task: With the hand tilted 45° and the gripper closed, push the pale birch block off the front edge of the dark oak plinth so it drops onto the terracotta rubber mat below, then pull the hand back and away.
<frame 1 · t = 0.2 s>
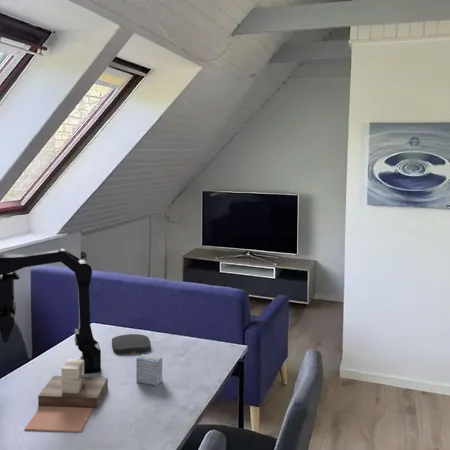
hand: (5, 337, 176), 15 cm above the table, tool pointing down, fingers open, 9 cm apart
oak plinth: (74, 396, 168), on the table
medicine box: (149, 382, 180), on the table
terracotta mat: (60, 419, 154), on the table
media streaming box: (131, 347, 211), on the table
birch block: (73, 387, 166), point 3 cm above the table, touching oak plinth
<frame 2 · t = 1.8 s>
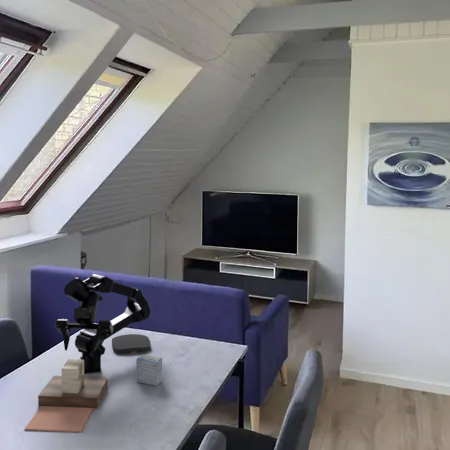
hand: (79, 350, 173), 13 cm above the table, tool tilted 45°, fingers open, 9 cm apart
nothing on the table moved.
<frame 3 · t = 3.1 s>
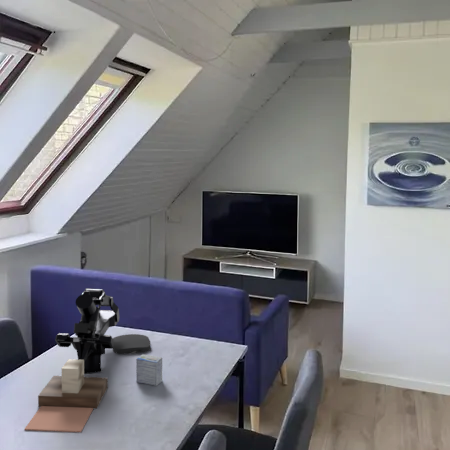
hand: (80, 365, 173), 8 cm above the table, tool tilted 45°, fingers closed
nothing on the table moved.
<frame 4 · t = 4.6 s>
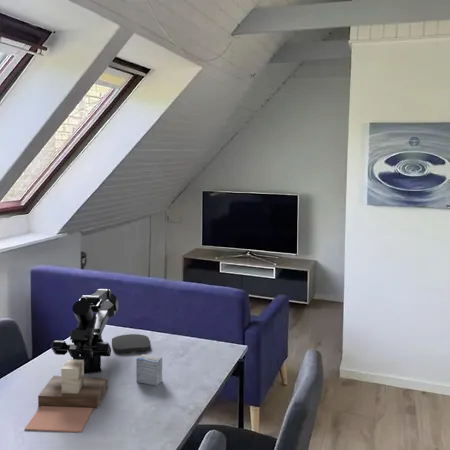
hand: (76, 373, 169), 7 cm above the table, tool tilted 45°, fingers closed, pressing on birch block
birch block: (73, 388, 166), point 4 cm above the table, touching gripper
everything else where it was.
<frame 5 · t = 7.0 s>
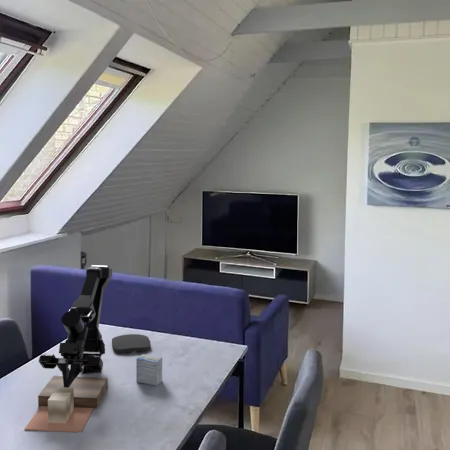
hand: (65, 389, 158), 7 cm above the table, tool tilted 45°, fingers closed, pressing on birch block
birch block: (65, 398, 159), point 4 cm above the table, tilted 90°, touching gripper, terracotta mat
everything else where it was.
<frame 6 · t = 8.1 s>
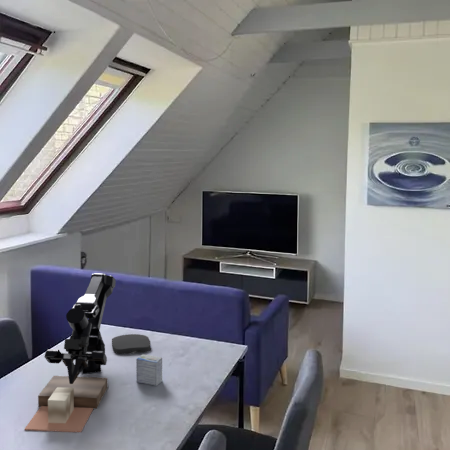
hand: (70, 383, 164), 6 cm above the table, tool tilted 45°, fingers closed
birch block: (65, 398, 159), point 4 cm above the table, tilted 90°, touching terracotta mat
everything else where it was.
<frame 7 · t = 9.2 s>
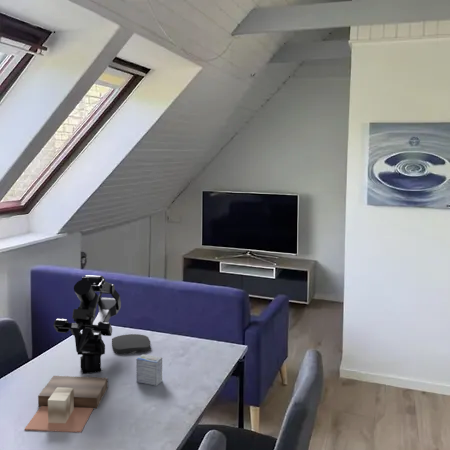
hand: (77, 351, 172), 13 cm above the table, tool tilted 45°, fingers closed
nothing on the table moved.
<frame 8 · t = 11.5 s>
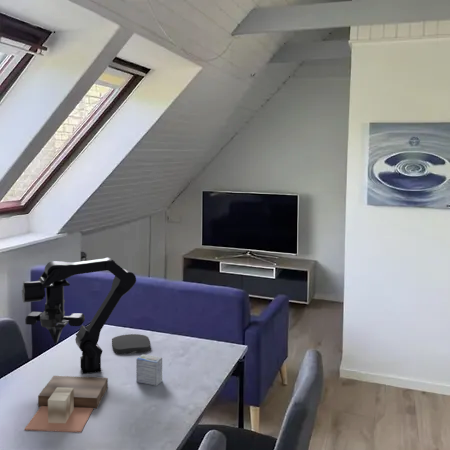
hand: (55, 342, 180), 12 cm above the table, tool pointing down, fingers closed
nothing on the table moved.
at the end: birch block inside the target area on the terracotta mat (5.1 cm from its centre), point 3.9 cm above the terracotta mat's base; birch block touching terracotta mat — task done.
